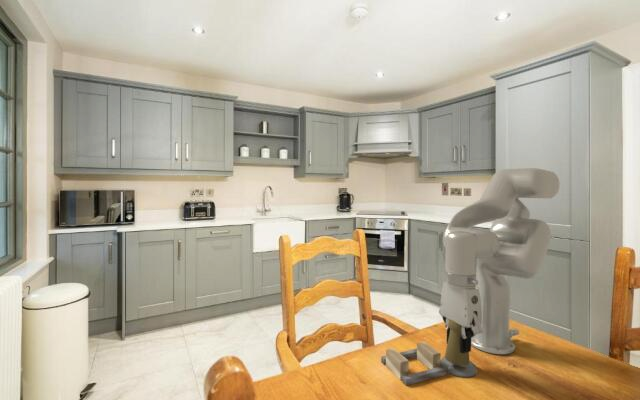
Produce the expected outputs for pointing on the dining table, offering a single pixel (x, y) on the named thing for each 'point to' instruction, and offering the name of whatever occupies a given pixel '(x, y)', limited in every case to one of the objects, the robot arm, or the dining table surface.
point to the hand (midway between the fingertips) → (458, 347)
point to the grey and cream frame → (423, 353)
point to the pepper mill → (455, 346)
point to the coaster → (459, 369)
